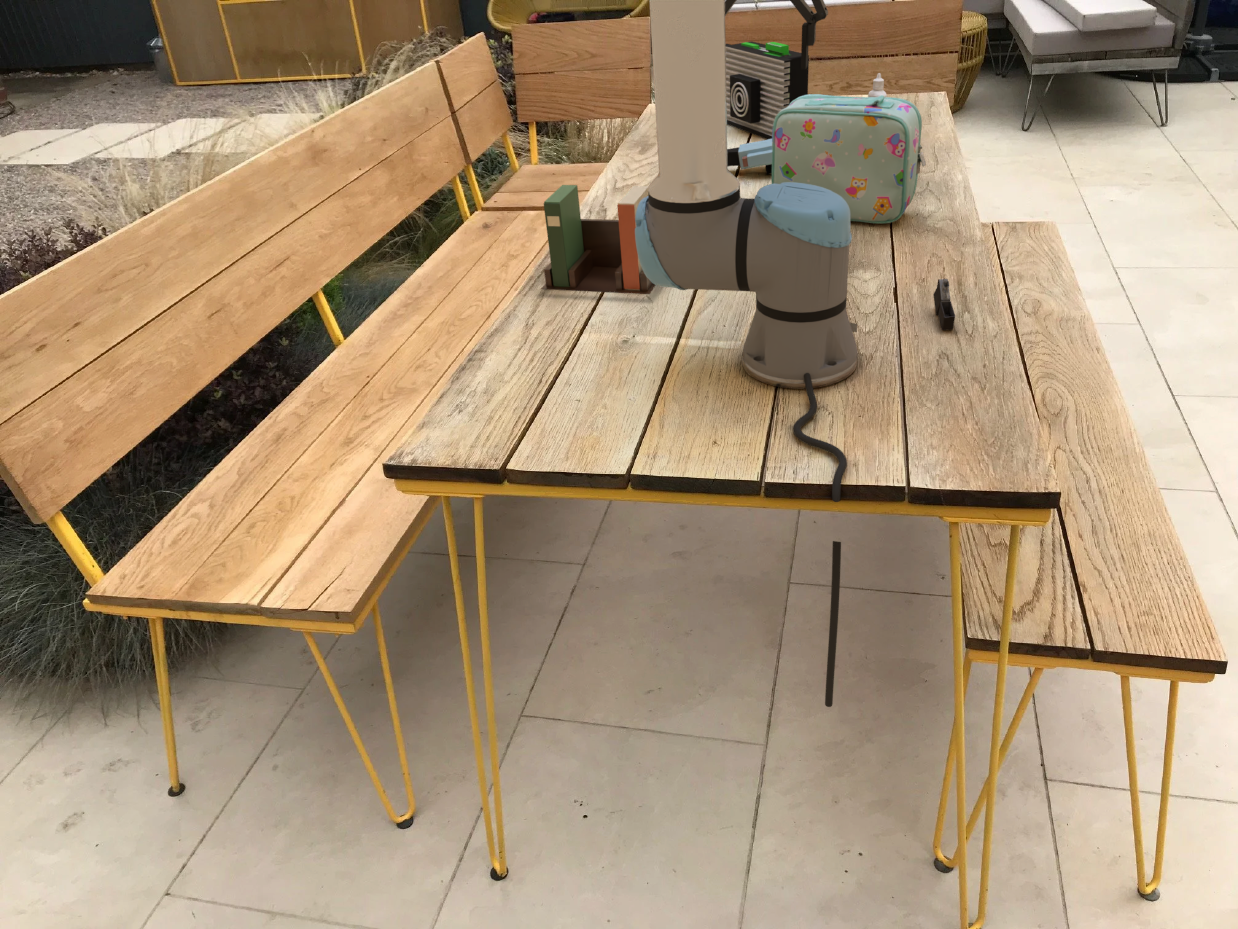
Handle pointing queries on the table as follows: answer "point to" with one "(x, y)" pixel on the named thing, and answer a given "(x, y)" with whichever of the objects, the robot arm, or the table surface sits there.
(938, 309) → the black narrow holder
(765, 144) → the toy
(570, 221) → the green book
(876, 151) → the lunch box
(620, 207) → the cream book
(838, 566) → the robot arm
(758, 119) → the electronic device
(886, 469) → the table surface
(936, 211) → the table surface
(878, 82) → the eye dropper bottle
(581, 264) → the book rack
